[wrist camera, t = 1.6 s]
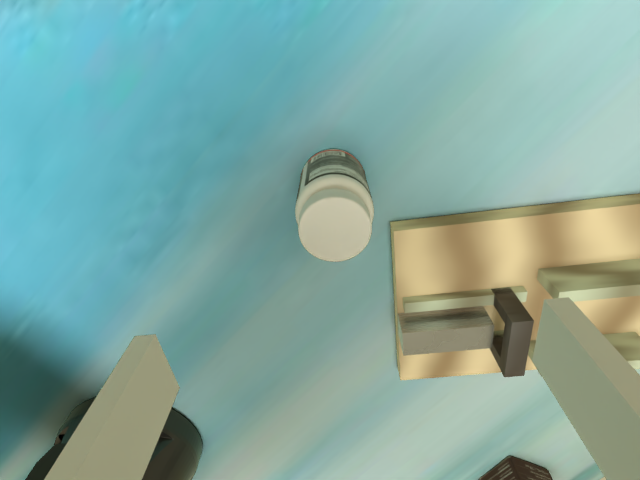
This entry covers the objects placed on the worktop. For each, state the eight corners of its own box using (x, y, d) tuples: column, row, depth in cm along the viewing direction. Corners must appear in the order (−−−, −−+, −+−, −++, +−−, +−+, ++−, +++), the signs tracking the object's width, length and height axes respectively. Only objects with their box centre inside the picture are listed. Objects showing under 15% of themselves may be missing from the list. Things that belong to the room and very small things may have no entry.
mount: (397, 367, 37) (408, 418, 32) (390, 221, 29) (403, 260, 24) (634, 347, 35) (684, 398, 30) (693, 187, 27) (772, 221, 23)
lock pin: (398, 334, 33) (403, 355, 31) (397, 313, 31) (402, 333, 29) (481, 327, 32) (491, 348, 30) (483, 305, 31) (494, 325, 29)
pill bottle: (341, 219, 29) (347, 282, 22) (289, 188, 28) (275, 244, 21) (378, 169, 27) (397, 220, 20) (323, 134, 26) (321, 174, 19)
